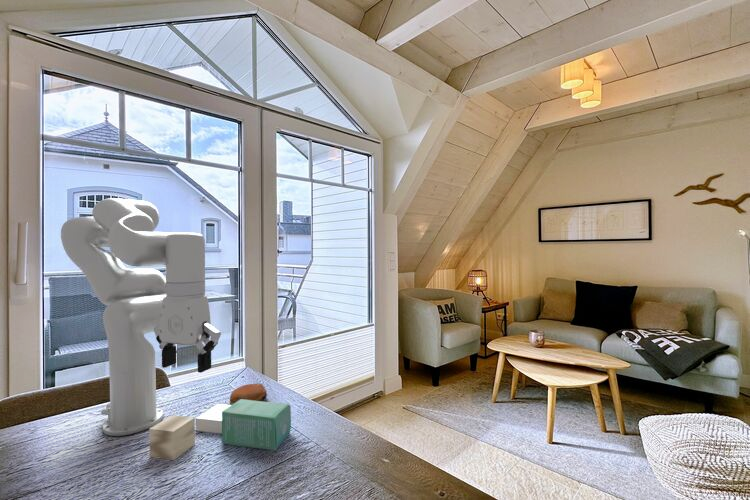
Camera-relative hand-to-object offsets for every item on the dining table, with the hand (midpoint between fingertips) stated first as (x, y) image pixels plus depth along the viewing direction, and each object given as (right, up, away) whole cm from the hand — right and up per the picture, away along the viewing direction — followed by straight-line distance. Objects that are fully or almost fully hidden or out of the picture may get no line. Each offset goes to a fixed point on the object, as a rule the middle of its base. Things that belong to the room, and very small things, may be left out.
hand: (186, 367), depth 76 cm
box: (+14, -18, +3) cm, 23 cm away
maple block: (-3, -18, 0) cm, 18 cm away
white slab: (+3, -18, +11) cm, 21 cm away
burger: (+6, -18, +22) cm, 29 cm away
